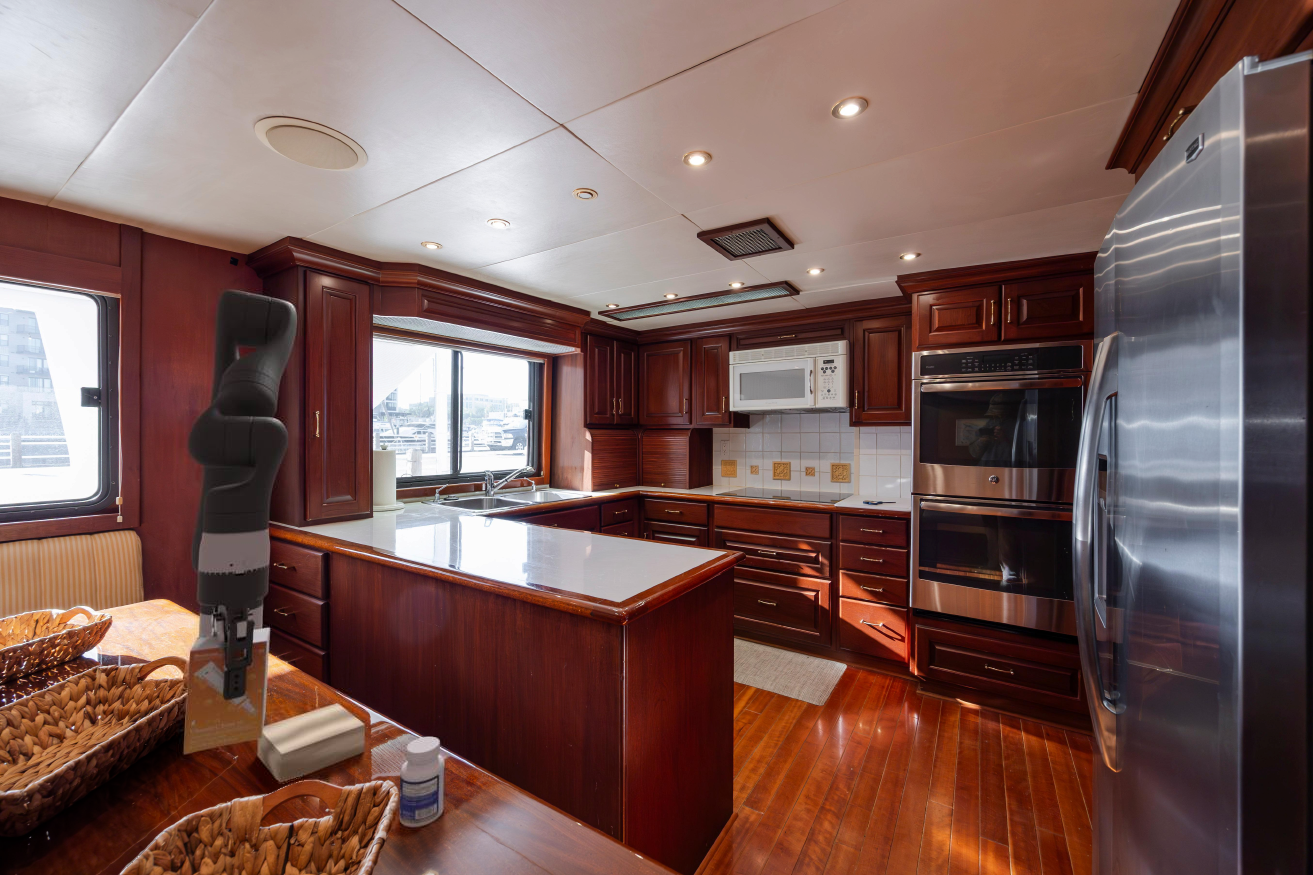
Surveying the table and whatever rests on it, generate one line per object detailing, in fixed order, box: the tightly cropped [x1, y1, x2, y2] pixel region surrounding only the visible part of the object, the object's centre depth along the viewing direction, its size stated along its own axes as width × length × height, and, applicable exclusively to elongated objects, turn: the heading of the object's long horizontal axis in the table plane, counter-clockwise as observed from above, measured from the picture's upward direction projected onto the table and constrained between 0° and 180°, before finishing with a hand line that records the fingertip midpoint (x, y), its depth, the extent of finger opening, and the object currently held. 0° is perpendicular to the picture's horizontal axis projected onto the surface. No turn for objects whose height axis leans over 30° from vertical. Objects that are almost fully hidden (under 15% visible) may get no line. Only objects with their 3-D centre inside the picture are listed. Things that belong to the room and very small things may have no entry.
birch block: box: [257, 702, 366, 783], centre depth 82 cm, size 11×11×4 cm
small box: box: [183, 627, 271, 755], centre depth 72 cm, size 8×6×13 cm
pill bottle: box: [398, 736, 446, 828], centre depth 69 cm, size 5×5×9 cm
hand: (229, 687), depth 72 cm, fingers closed on small box, 7 cm apart
